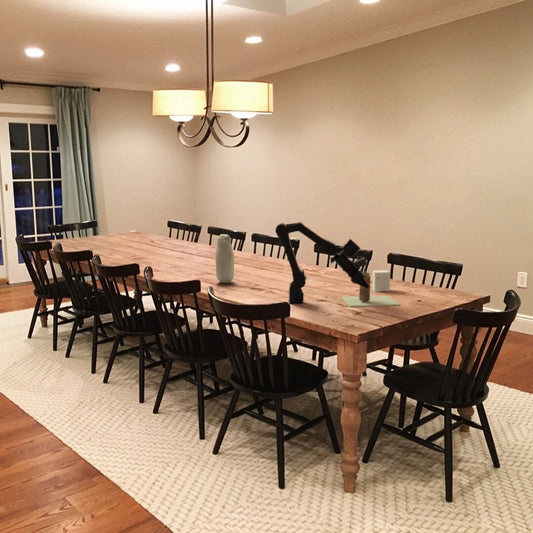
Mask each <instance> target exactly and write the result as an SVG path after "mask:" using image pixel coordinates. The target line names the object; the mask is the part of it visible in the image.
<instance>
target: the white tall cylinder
mask: <svg viewBox="0 0 533 533" xmlns="http://www.w3.org/2000/svg"><path fill="white" fill-rule="evenodd" d="M216 242H217V245H216V246H217V247H216V252H215V257H214V258H215V274H216V276H215V277H216V278H217V280H218V282H219V283H221V284H229V283H231V282H232V281H233V280H234V277H235V252H234V250H233V247H232V239H231V236H230V235H228V234H225V233H221V234H220V235H218V237H217V241H216Z"/></svg>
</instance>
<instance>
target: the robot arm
mask: <svg viewBox="0 0 533 533" xmlns="http://www.w3.org/2000/svg"><path fill="white" fill-rule="evenodd" d="M296 232H299V233H301V234H302V235H304V236H305V237H306V238H308V239H309V240H311V241H312V242H314V243H315V244H316V245H318V246H319V247H320V248H321V249H322V250H323V252H324V253H325V254H326V255H328V256H330V257H329V258H330V261H329V262H330V264H333V263H336V264H337V265H338V266H339V267H340V268H341V269H342V271H343V272H345V274H347V275H348V278H350V281H351V283H352V284H355V285H358V286H360V285H361V286H363V287H366V288H368V287H369V286H368V284H367V283H366V281H365V280H364V278H363V275H364V274H363V270H362V269H361V268H362V267H363V266H367V265H368V262H367V259H366V258H365V257H364V256H361V255H359V256H357V258H356V260H355V261H354V260H352V259H350V258H349V257H354V256H355V255H356V254H357V253H359V251H360V250H361V247H360V246H359V245H358V244H357V243H356V242H355V241H354V240H352V239H351V238H349V239H348V240H347V241H346V243H344V245H337V244H336V243H334V242H333V241H330V240H328V239H325V238H324V237H322V236H320V235H319V234H318V233H316V232H315V231H313V230H312V229H310V228H309V227H307V226H306V225H304V223H302V221H298V222H293V223H284V222H280V223H278V224H277V225H276V227H275V233H276V236H277V237H278V239H279V241H280V243H282V246H283V248H284V252H285V254H286V258H287V260H288V262H289V266H290V270H291V273H292V274H291V276H292V280H293V281H291V283H289V289H288V303H289V305H293V304H292V303H296V304H304V301H305V300H304V297H305V296H304V295H305V294H304V292H303V289H302V288H304V287H305V286H306V283H307V282H306V281H307V276H306V274H305V269H301V268H300V266H299V264H298V261H297V258H296V254H295V251H294V249H293V246H292V244H291V239H290V234H291V233H296ZM331 256H332V257H331Z"/></svg>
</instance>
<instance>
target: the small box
mask: <svg viewBox="0 0 533 533" xmlns="http://www.w3.org/2000/svg"><path fill="white" fill-rule="evenodd" d="M390 278H391V272H390V270H387V269H385V270H372V291H373V290H374V291H375V292H374V291H373V292H374V293H381V292H380V291H389V292H390V290H391V288H390V287H391V286H390V285H391V283H390V282H391V279H390Z"/></svg>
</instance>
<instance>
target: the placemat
mask: <svg viewBox="0 0 533 533" xmlns="http://www.w3.org/2000/svg"><path fill="white" fill-rule="evenodd" d="M341 299H342V300H343V301H344V302H345V303H346V305H347V306H348V307H349V308H354V307H355V308H359V307H361V308H362V307H364V308H365V307H389V306H390V307H393V305H398V306H400V303H399V302H397V301H396V300H395V299H394V298H393V297H391V296H390V295H370V300H369V301H361V300H359V296H341Z"/></svg>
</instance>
